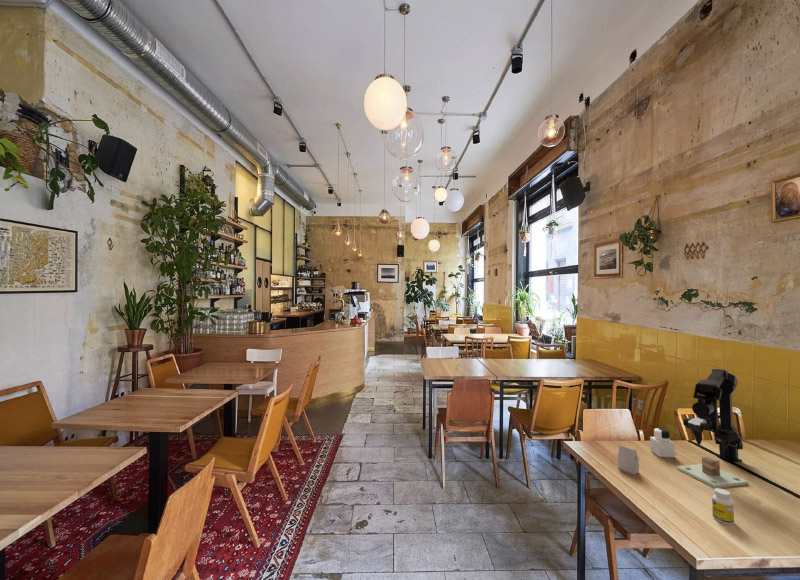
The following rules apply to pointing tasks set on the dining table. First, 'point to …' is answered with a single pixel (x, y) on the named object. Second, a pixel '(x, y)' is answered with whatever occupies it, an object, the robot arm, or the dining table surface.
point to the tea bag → (628, 460)
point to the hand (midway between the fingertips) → (710, 448)
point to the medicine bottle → (662, 443)
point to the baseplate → (712, 477)
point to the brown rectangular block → (711, 466)
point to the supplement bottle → (722, 506)
